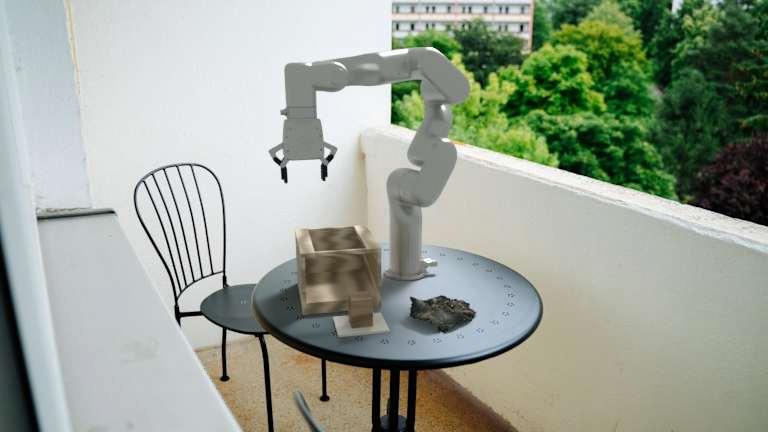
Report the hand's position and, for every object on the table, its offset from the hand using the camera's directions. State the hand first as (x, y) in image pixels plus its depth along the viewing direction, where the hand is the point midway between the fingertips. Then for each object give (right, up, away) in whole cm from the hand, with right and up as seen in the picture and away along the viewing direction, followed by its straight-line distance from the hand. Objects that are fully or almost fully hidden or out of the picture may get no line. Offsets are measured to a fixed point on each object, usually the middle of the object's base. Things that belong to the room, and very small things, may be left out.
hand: (304, 181), depth 148 cm
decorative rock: (+35, -34, -4) cm, 49 cm away
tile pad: (+15, -35, -10) cm, 39 cm away
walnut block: (+15, -34, -10) cm, 39 cm away
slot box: (+8, -30, +8) cm, 32 cm away
